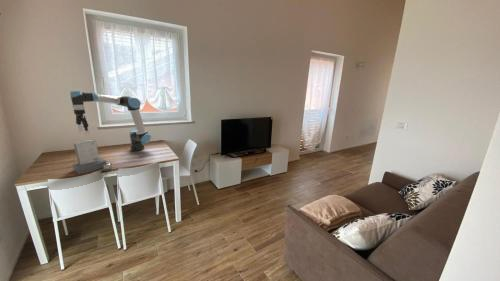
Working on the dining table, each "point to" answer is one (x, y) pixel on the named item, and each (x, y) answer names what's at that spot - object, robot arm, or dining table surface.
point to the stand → (88, 166)
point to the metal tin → (107, 166)
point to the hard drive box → (86, 152)
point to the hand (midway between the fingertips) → (83, 132)
